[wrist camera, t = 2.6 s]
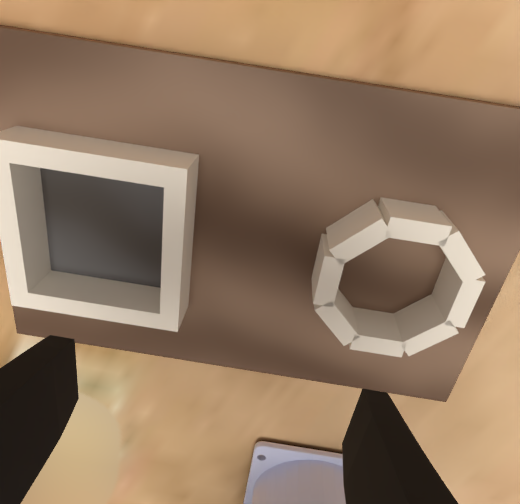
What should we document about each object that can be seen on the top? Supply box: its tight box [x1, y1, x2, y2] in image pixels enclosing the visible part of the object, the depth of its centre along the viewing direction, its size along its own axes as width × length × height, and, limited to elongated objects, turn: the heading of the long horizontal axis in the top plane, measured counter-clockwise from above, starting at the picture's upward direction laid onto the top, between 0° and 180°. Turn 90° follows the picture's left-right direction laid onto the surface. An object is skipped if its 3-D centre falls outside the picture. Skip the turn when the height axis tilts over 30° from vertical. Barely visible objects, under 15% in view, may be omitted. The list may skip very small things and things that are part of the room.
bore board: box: [0, 25, 520, 402], centre depth 18 cm, size 14×22×3 cm, turn 82°
